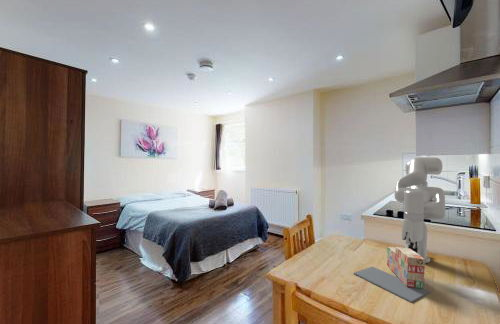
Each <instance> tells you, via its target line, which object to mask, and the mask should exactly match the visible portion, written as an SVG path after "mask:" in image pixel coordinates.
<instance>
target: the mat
mask: <svg viewBox="0 0 500 324" xmlns="http://www.w3.org/2000/svg"><path fill="white" fill-rule="evenodd" d="M353 275H355V276H356V277H358V278H361V279H363V280H365V281H367V282H369V283H371V284H373V285H374V286H376V287H379V288H381V289H382V290H385V291H386V292H389V293H391V294H393V295H395V296H397V297H399V298H401V299H403V300H405V301H407V302H409V303H411V304H412V303H414V302H416V301H418V300H419V299H421V298H423V297H425V296H427V295H429V294H430V293H431V291H430V290H427V288H426V289H425V288H424V287H423V289H420V288H413V287H407V286H406V285H405V284H404V283H403V282H402V281H401V280H400V278H399V277H398V276H397V275H396V276H395V275H393V274H391V273H388V272H386V271H385V270H381V269H379V268H377V267H375V266H369V267H366V268H364V269H363V268H362V269H361V270H358V271H355V272H353Z"/></svg>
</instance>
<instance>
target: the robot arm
mask: <svg viewBox="0 0 500 324" xmlns="http://www.w3.org/2000/svg"><path fill="white" fill-rule="evenodd" d="M442 171H443V162H442V160H441V158H439V157H436V156H435V157H430V156H429V157H426V156H425V157H423V156H421V157H419V156H418V157H414V158H411V159H410V160H409V161H407V162H406V164H405V176H403V177H401V178H400V179H399V180H398V181H397V182H396V184H395V188H394V199H395V200H396V202H399V203H403V221H402V226H401V227H402V228H401V240H403V241H404V248H410V249H411V250H413V251H414V252H416V253H418V254H419V255H421V257H423V258H424V259H425V264H428V263H430V262H431V258H430V257H429V256H428V253H429V252H430V251H429V249H428V226H427V225H426V223H425V222H424V221H425V220H431V221H439V222H440V221H443V220H444V219H445V217H446V196H445V195H446V194H445V191H444V190H443V189H442V188H441V187H437V186H436V187H435V186H428V184H429V183H428V181H427V180H428V175H432V176H433V175H438V176H439V175H440V174H441V173H442Z"/></svg>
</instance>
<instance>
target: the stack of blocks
mask: <svg viewBox="0 0 500 324" xmlns="http://www.w3.org/2000/svg"><path fill="white" fill-rule="evenodd" d="M386 250H387V251H386V253H387V256H386V259H387V261H386V266H387V267H388V268H389V269H390V270H391V271H392V272H393V273H394V274H395V275H396V277H398V278H400V280H401V281H402V282H403V283H404V284H405V285H406V286H407V287H413V288H420V289H423V288H424V284H425V282H424V281H425V269H426V267H425V265H426V263H425V259H424V258H423V257H421V255H419V254H418V253H416V252H414V251H413V250H411V249H410V248H405V247H401V246H400V247H399V246H395V247H391V246H387V249H386Z"/></svg>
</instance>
